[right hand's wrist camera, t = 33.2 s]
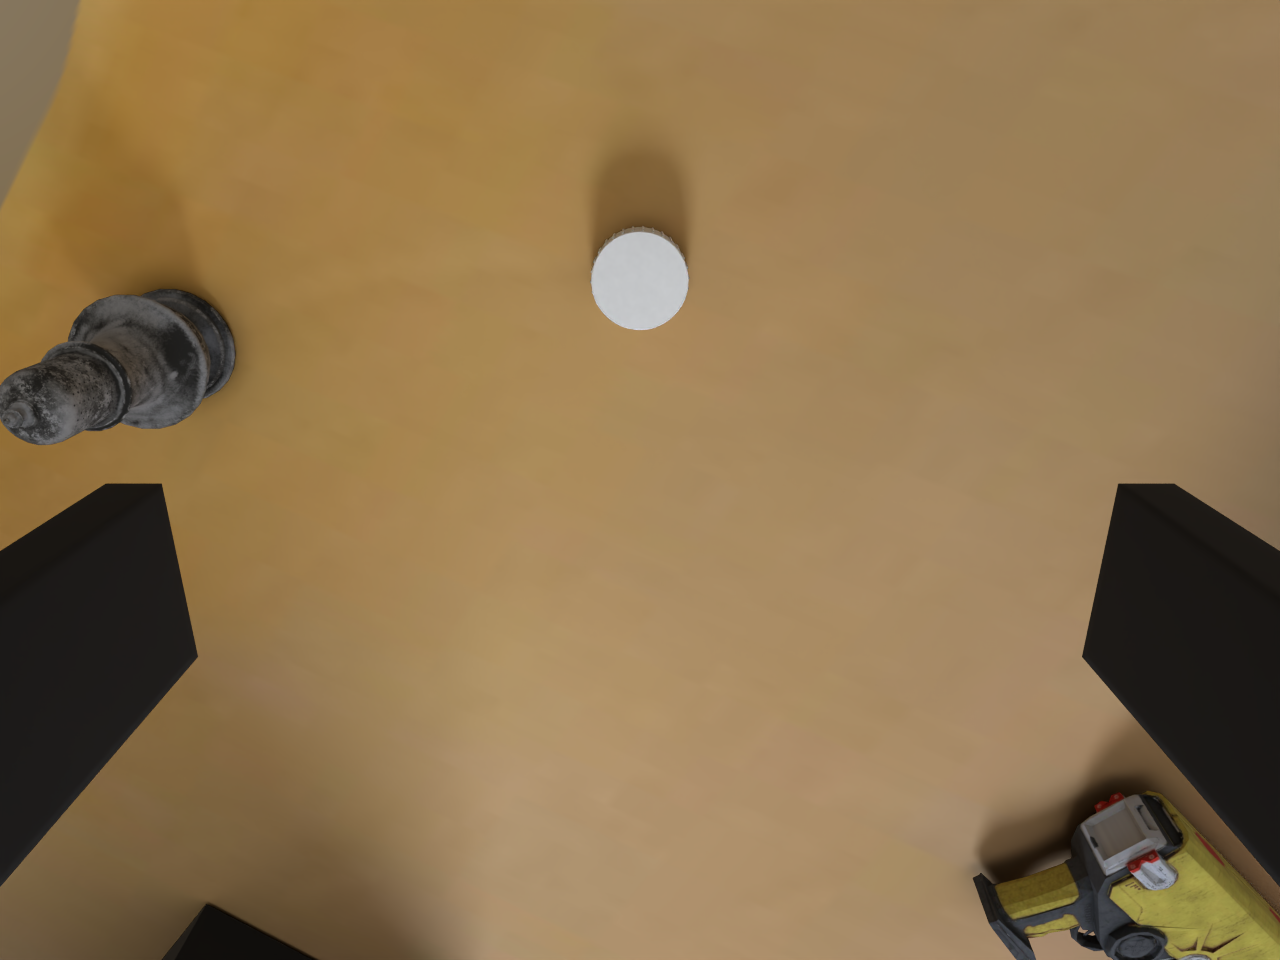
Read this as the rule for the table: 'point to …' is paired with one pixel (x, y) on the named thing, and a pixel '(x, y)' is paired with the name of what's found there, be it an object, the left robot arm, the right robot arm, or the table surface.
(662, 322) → the cap
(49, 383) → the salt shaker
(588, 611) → the table surface
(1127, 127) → the table surface
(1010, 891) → the toy gun
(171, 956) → the cardboard box
